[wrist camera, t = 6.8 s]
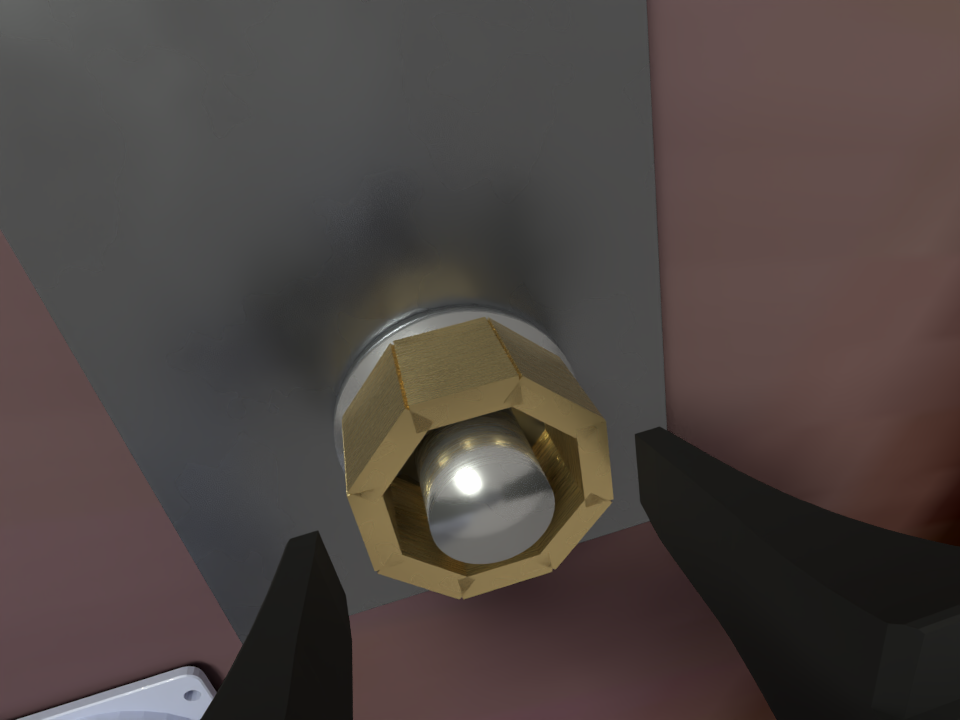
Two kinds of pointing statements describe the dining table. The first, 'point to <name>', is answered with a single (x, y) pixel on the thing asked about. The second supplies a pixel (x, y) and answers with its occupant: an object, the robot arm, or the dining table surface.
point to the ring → (453, 398)
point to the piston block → (334, 247)
